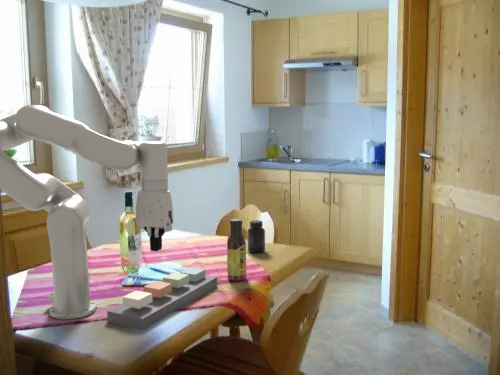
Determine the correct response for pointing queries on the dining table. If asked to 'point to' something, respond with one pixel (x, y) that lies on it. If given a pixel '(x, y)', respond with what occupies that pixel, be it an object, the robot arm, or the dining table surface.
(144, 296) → the cream key
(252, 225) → the supplement bottle
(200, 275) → the slate key
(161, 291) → the terracotta key
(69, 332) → the dining table surface
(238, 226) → the sauce bottle
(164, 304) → the keypad base
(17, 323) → the dining table surface
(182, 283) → the sage key
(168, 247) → the dining table surface
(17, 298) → the dining table surface
